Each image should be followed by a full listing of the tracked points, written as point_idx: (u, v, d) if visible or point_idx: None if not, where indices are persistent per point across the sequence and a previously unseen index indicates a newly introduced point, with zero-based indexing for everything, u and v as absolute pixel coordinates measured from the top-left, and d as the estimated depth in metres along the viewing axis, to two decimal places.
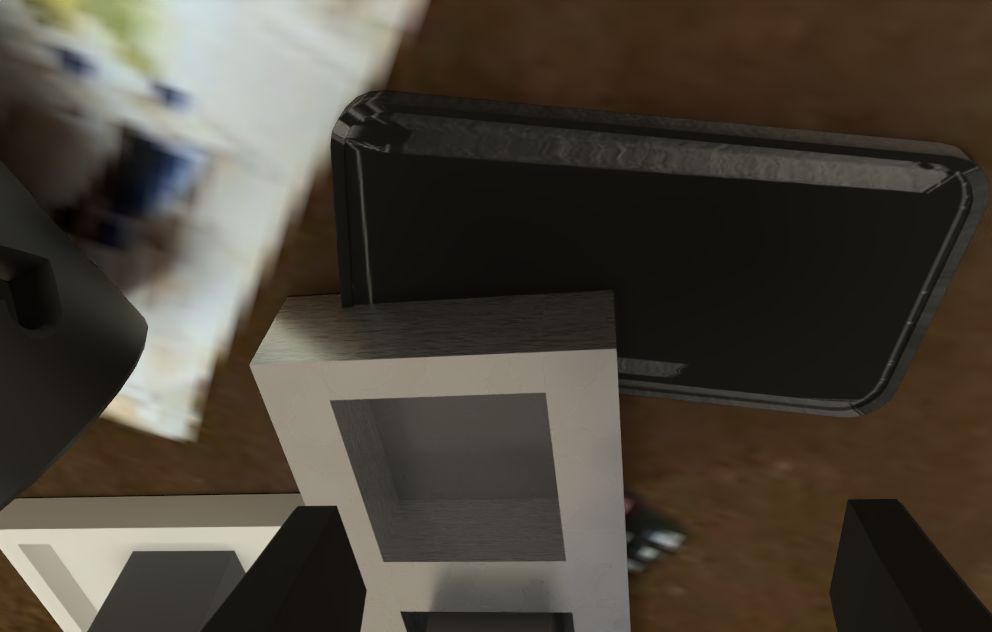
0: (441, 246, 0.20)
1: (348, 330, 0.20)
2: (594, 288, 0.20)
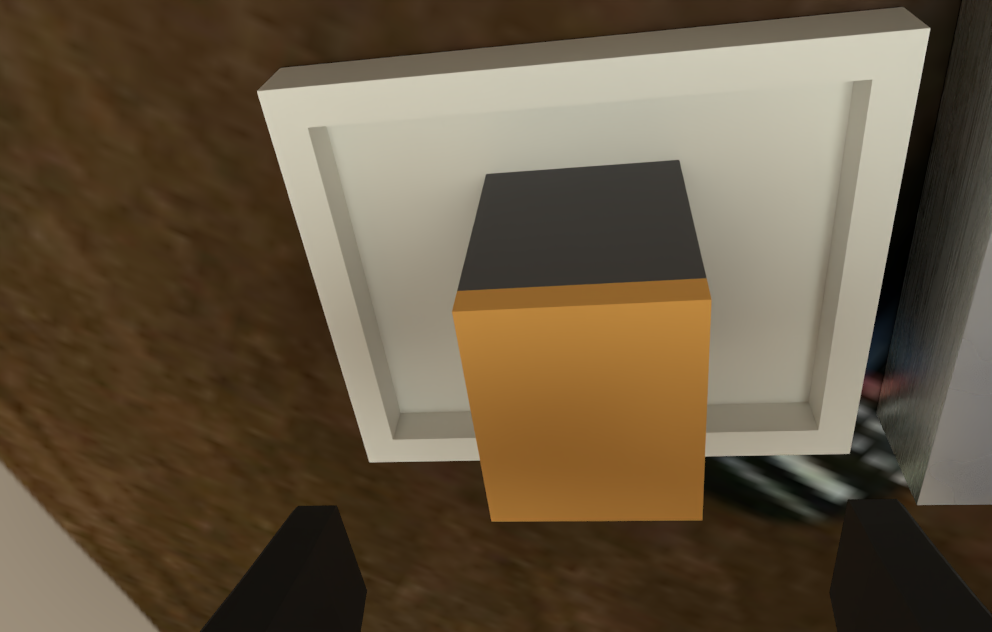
0: None
1: None
2: None
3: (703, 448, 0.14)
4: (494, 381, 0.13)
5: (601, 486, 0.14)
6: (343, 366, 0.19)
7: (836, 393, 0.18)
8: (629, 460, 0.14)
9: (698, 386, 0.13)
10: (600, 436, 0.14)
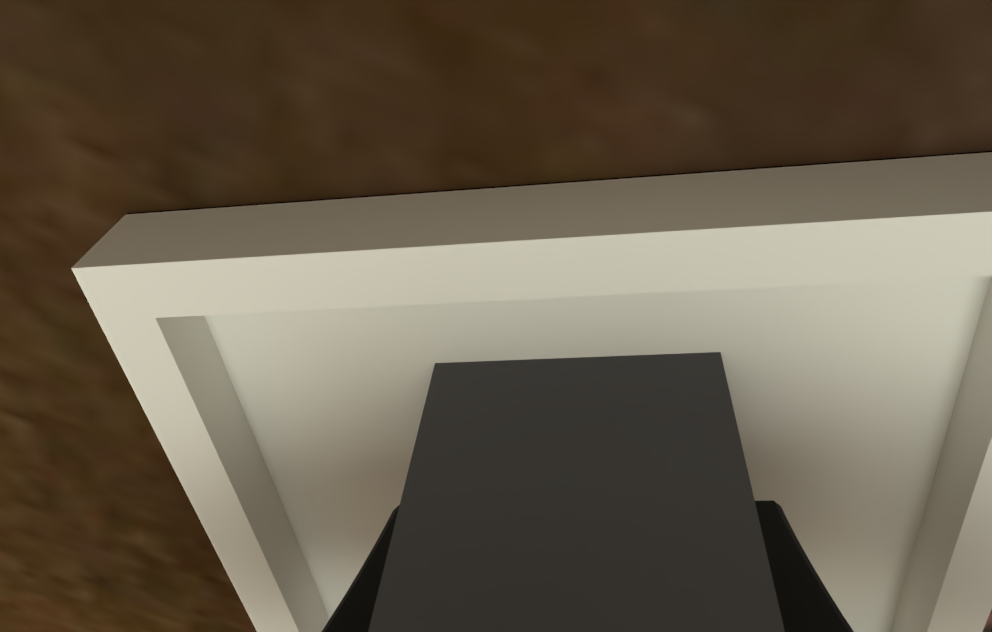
0: None
1: None
2: None
3: None
4: None
5: None
6: (245, 600, 0.13)
7: None
8: None
9: None
10: None
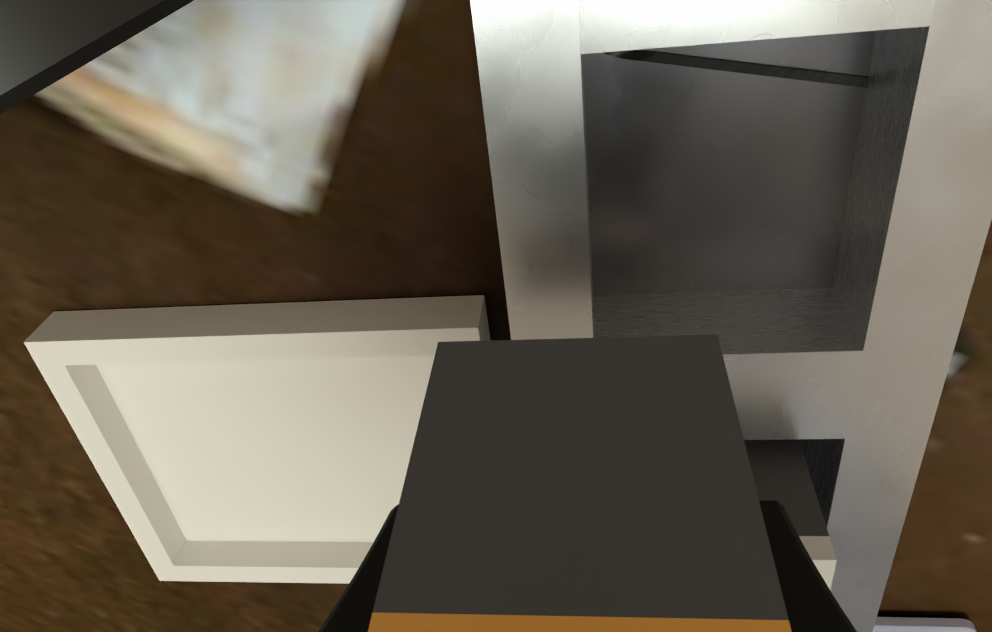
0: None
1: None
2: None
3: None
4: None
5: None
6: (124, 515, 0.24)
7: None
8: None
9: None
10: None
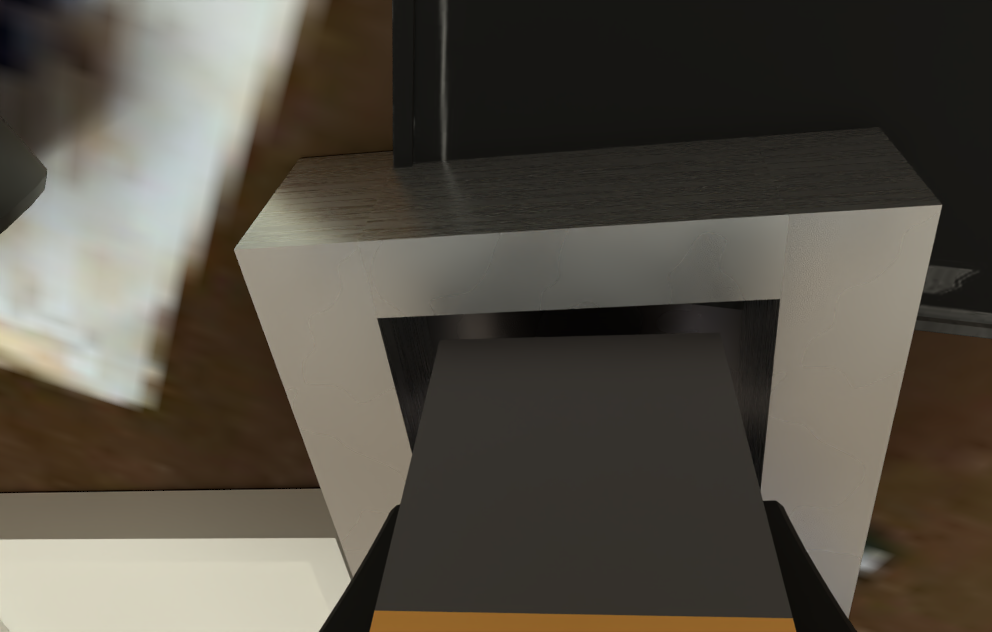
0: (579, 40, 0.11)
1: (410, 196, 0.11)
2: (845, 124, 0.11)
3: None
4: None
5: None
6: None
7: None
8: None
9: None
10: None
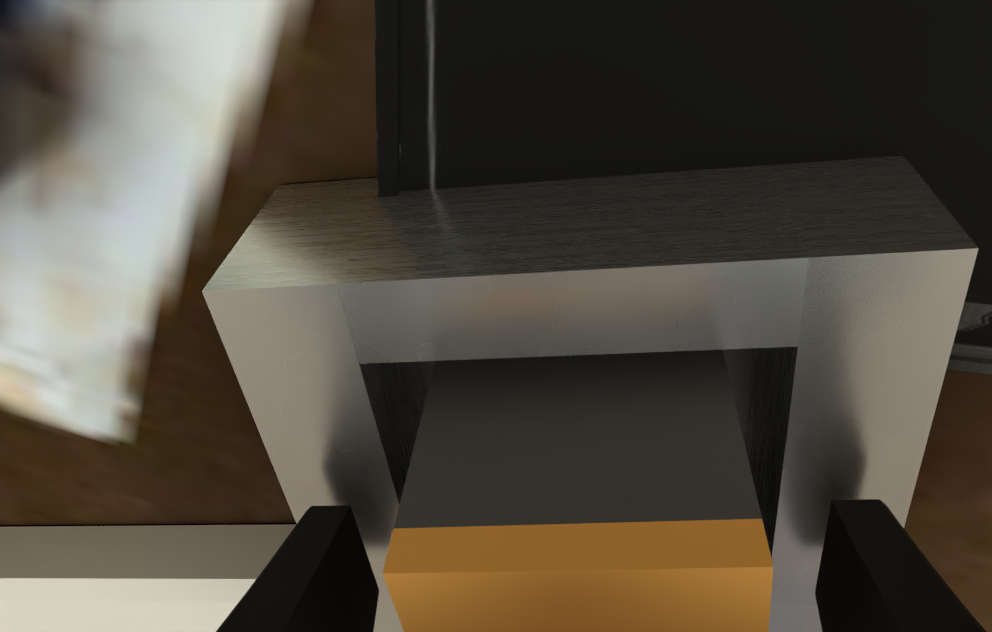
0: (577, 63, 0.10)
1: (395, 230, 0.10)
2: (866, 152, 0.10)
3: None
4: None
5: None
6: None
7: None
8: None
9: None
10: None
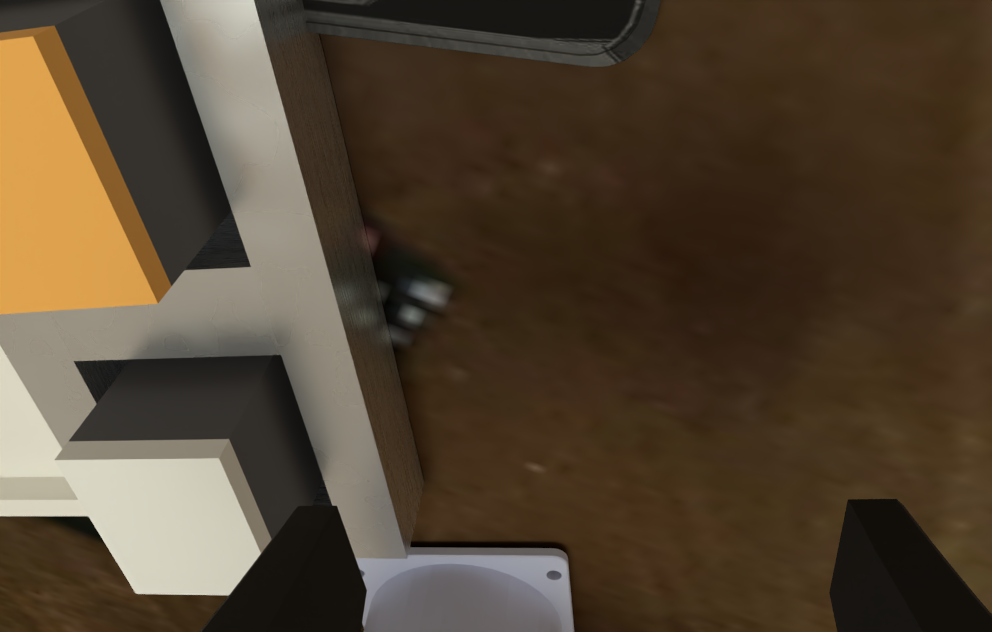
0: None
1: None
2: None
3: (116, 217, 0.14)
4: None
5: (48, 267, 0.14)
6: None
7: None
8: (57, 234, 0.14)
9: (74, 142, 0.13)
10: (17, 207, 0.14)
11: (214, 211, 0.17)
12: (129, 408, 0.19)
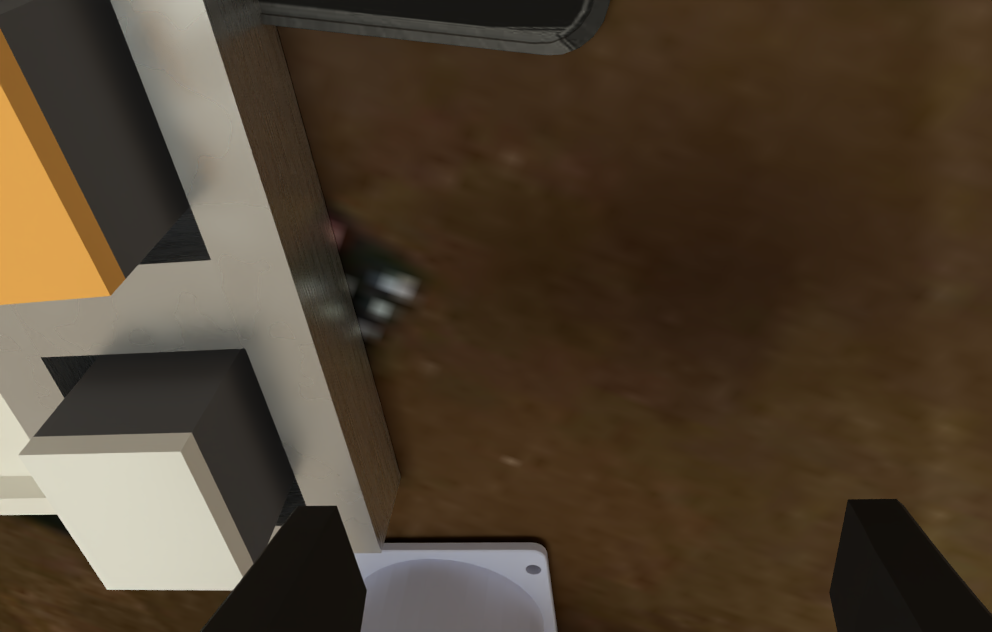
0: None
1: None
2: None
3: (64, 208, 0.14)
4: None
5: (0, 261, 0.15)
6: None
7: None
8: (7, 227, 0.14)
9: (18, 133, 0.13)
10: None
11: (173, 204, 0.17)
12: (95, 403, 0.19)
